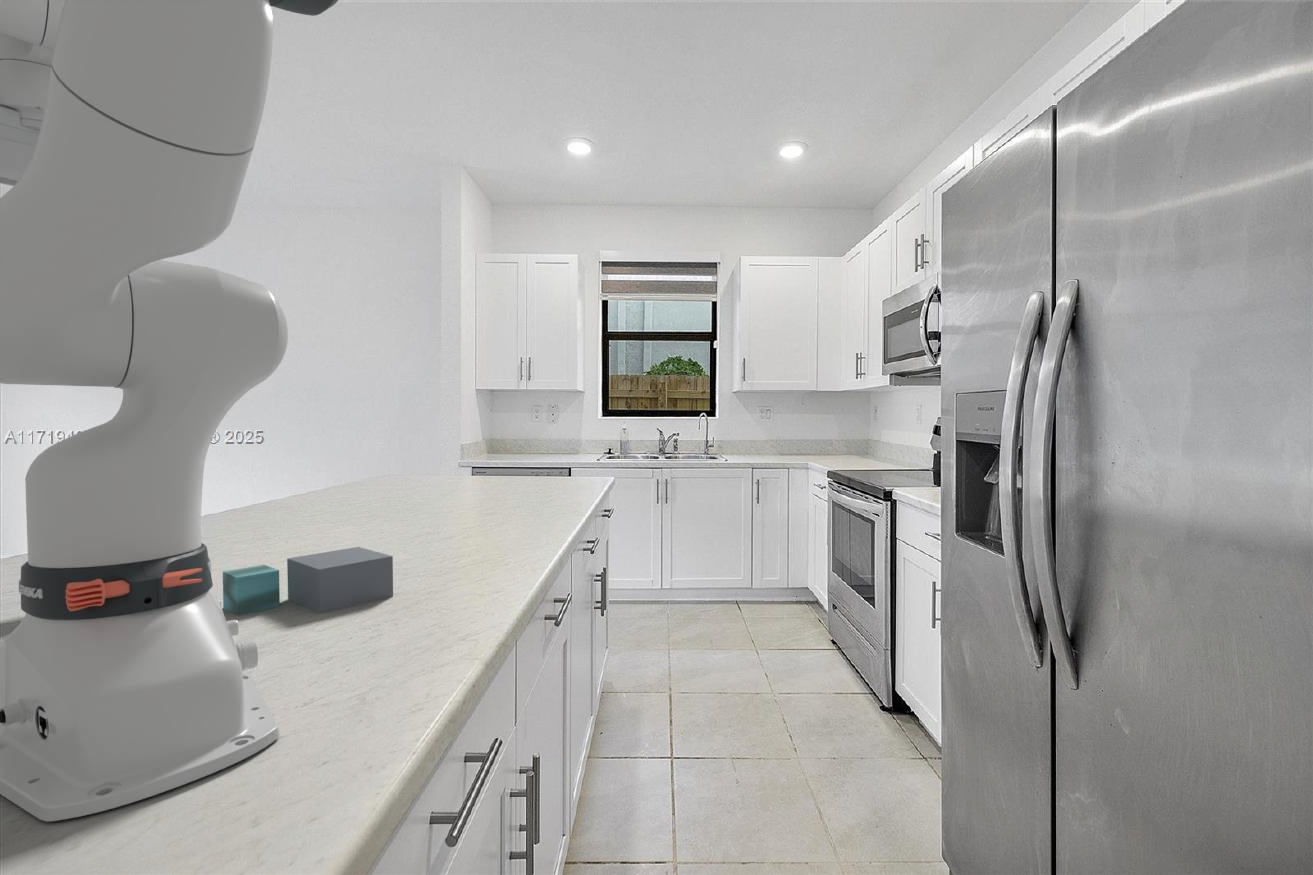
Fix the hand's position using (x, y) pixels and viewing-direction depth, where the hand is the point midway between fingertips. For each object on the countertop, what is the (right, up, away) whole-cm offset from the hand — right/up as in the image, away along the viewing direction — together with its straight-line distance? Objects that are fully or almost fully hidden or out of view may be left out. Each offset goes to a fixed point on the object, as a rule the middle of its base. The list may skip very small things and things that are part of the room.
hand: (52, 232), depth 72 cm
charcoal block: (+24, -46, +18) cm, 55 cm away
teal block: (+14, -46, +14) cm, 50 cm away
